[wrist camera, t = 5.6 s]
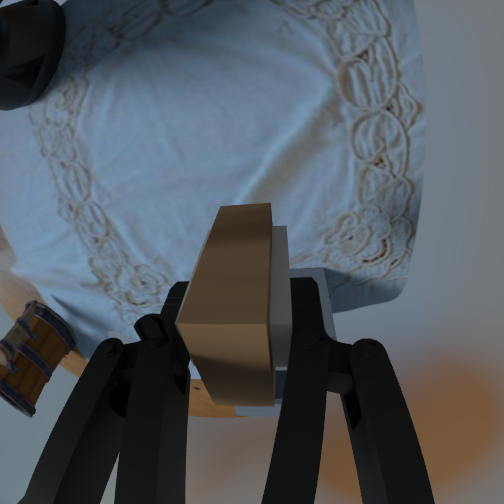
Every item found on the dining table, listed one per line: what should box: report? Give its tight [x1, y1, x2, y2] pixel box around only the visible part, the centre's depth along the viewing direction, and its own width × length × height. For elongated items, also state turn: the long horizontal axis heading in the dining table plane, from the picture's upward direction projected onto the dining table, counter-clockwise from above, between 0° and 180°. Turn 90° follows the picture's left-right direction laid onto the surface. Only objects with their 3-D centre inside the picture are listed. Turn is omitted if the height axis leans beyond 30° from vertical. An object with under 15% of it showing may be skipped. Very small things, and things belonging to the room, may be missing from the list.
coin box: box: [233, 268, 337, 416], centre depth 32 cm, size 16×11×11 cm
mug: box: [0, 300, 77, 417], centre depth 36 cm, size 19×14×20 cm
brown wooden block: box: [177, 203, 276, 407], centre depth 13 cm, size 6×3×8 cm, turn 6°
